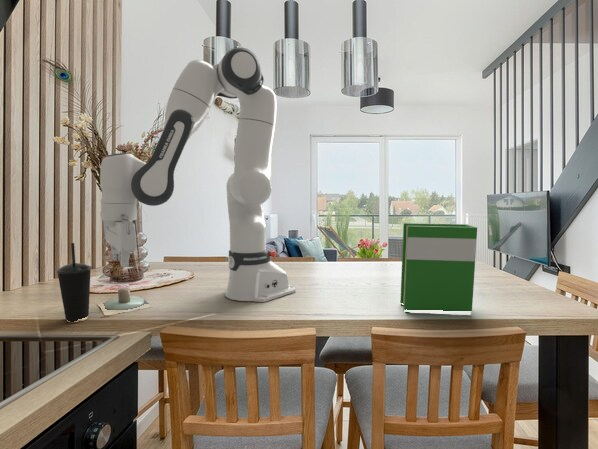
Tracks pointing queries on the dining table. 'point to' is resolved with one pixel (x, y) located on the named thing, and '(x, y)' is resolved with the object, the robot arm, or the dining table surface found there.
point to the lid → (124, 301)
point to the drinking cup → (75, 288)
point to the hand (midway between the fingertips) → (120, 263)
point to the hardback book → (438, 266)
